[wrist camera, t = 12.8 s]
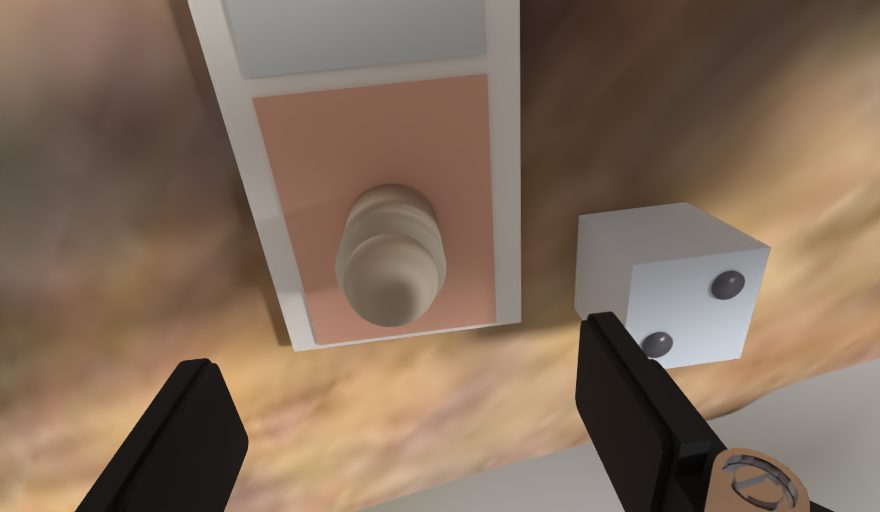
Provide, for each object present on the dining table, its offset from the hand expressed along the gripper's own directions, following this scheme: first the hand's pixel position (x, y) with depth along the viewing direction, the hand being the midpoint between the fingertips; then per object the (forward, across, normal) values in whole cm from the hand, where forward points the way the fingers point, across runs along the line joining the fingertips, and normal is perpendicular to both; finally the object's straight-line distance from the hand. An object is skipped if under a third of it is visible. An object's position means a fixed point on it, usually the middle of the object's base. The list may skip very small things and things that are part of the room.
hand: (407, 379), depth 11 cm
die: (+13, -12, +4) cm, 18 cm away
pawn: (+11, +1, 0) cm, 11 cm away
